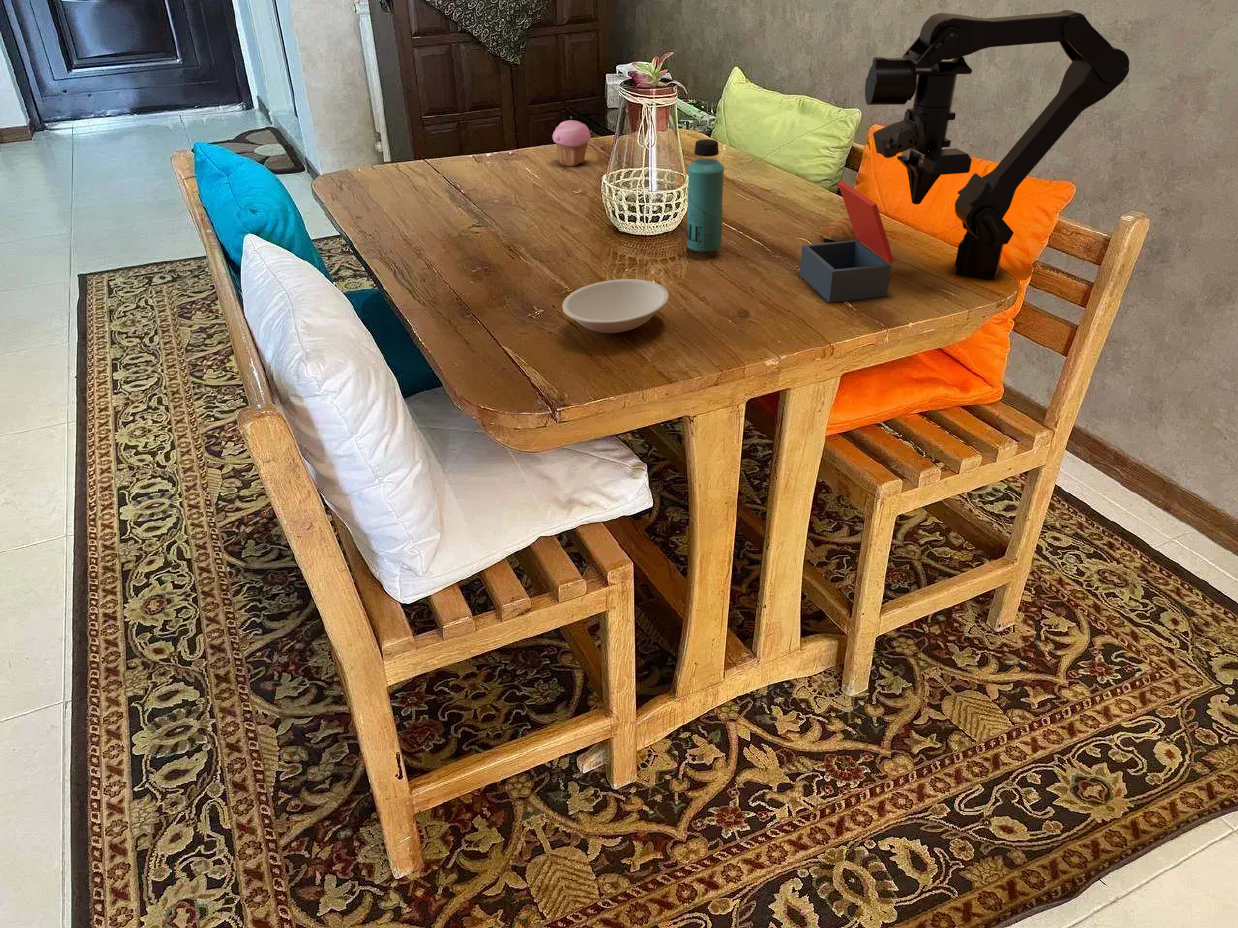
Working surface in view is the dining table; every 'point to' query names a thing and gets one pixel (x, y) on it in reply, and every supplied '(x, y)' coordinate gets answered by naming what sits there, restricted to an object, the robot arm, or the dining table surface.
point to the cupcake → (571, 142)
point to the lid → (866, 221)
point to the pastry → (840, 230)
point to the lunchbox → (844, 271)
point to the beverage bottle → (705, 198)
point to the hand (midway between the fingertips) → (915, 203)
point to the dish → (615, 304)
